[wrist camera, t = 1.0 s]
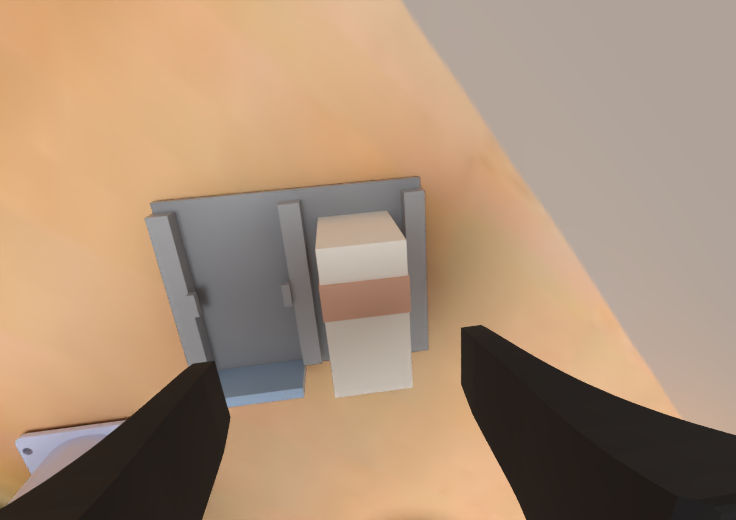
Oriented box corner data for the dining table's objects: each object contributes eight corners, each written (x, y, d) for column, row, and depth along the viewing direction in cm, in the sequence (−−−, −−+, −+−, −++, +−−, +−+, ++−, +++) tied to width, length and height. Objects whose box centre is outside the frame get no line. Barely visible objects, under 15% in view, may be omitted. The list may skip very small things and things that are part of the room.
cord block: (395, 329, 22) (414, 389, 17) (332, 337, 21) (333, 399, 17) (387, 210, 19) (408, 240, 14) (316, 217, 19) (313, 250, 14)
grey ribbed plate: (422, 347, 23) (436, 379, 20) (203, 375, 22) (185, 413, 19) (417, 176, 19) (433, 185, 16) (154, 201, 18) (123, 215, 16)
